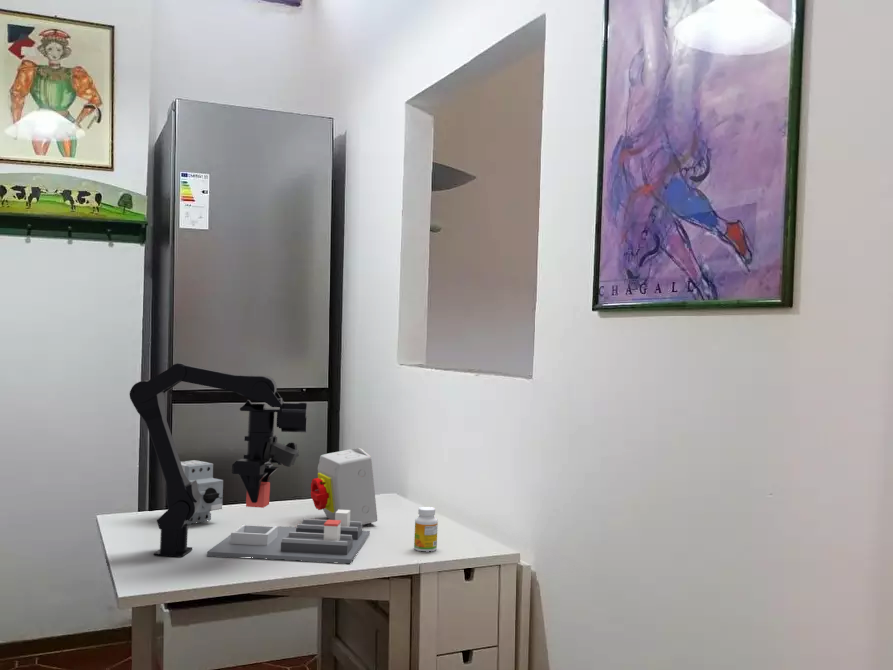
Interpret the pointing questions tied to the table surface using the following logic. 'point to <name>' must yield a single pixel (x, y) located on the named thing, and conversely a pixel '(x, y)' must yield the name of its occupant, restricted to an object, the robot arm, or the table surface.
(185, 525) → the robot arm
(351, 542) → the panel
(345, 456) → the electrical switch box
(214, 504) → the circuit breaker
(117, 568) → the table surface
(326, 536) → the toggle
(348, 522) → the toggle
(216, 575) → the table surface
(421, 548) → the supplement bottle
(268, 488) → the coral foam cube
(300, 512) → the table surface
